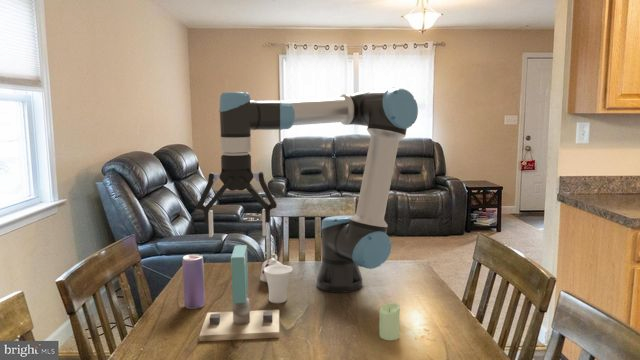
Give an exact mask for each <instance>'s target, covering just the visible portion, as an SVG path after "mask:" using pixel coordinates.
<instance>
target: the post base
mask: <svg viewBox="0 0 640 360" xmlns="http://www.w3.org/2000/svg"><path fill="white" fill-rule="evenodd" d="M204 318H205V319H204V321H203V323H202V327H201V329H200V332H199V336H198V338H199V342H208V341H209V342H211V341H213V342H214V341H228V340H229V341H232V340H255V339H256V340H257V339H274V338H275V339H276V338H277V339H278V338H280V309H264V310H261V309H260V310H251V308H250V299H249V298H248V297H247V299H246V303H233V302H232V311H216V312H215V311H214V312H210V311H209V312H207V313H206V315H205V317H204Z"/></svg>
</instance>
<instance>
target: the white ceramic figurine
mask: <svg viewBox="0 0 640 360" xmlns="http://www.w3.org/2000/svg"><path fill="white" fill-rule="evenodd" d="M270 256H271V258H270V259H267V260H265V261H264V262H263V263H262V266H261V272H260V275H259V280H260V281H262V282H264V283H267V278H266V275H265V273H264V268H266V267H268V266H271V265H284V264H283V263H282V262H280V261H278V254H276V253H270Z"/></svg>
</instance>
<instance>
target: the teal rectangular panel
mask: <svg viewBox="0 0 640 360" xmlns="http://www.w3.org/2000/svg"><path fill="white" fill-rule="evenodd" d="M248 265H249V264H248V245H245V244H244V245H243V244H241V245H234V247H233V251H232V254H231V257H230V266H231V285H232V287H231V289H232V290H231V291H232V293H231V295H232V304H233V303H246V299H247V298H248V297H247V296H248V291H249V273H248V272H249V270H248Z"/></svg>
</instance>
